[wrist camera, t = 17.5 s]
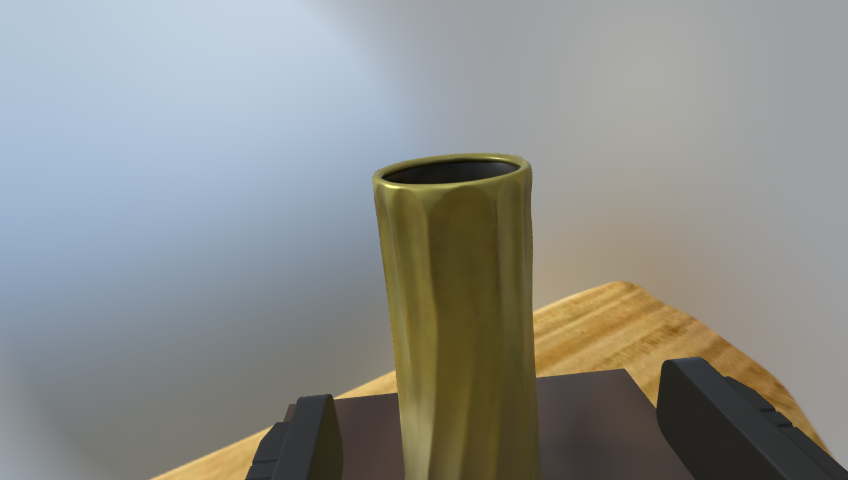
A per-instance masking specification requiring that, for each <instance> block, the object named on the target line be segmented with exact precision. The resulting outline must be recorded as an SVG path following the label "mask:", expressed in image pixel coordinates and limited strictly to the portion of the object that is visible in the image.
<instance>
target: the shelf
mask: <svg viewBox="0 0 848 480" xmlns="http://www.w3.org/2000/svg"><path fill="white" fill-rule="evenodd" d="M536 387H537V403H538V424H539V444H540V466H541V473H542V477H543V480H695V479H694V477H693V476H692V475H691V473H690V472H689V471H688V469H687V468H686V467H685V465H684V464H683V463H682V461H681V460H680V458H679V457H678V456H677V454H676V453H675V452H674V450H673V449H672V448H671V446H670V445H669V444H668V442H667V441H666V439H665V438H664V436H663V434H662V432H661V430H660V428H659V425H658V421H657V415H656V408H655V407H654V406H653V404H652V403H651V402H650V401H649V399H648V398H647V397H646V395H645V394H644V393H643V392H642V390H641V389H640V388H639V386H638V385H637V384H636V383H635V381H634V380H633V379H632V378H631V376H630V375H629V374H628V372H627V371H626V370H625V369H615V370H605V371H596V372H587V373H577V374H568V375H559V376H549V377H540V378H536ZM334 404H335V409H336V414H337V418H338V423H339V428H340V433H341V438H342V443H343V473H342V479H341V480H405V467H404V458H403V445H402V433H401V421H400V410H399V399H398V393H391V394H382V395H372V396H363V397H354V398H344V399H335V400H334ZM295 406H296V404H290V405H289V407H288V410H287V413H286V416H285V418H284V421H283V422H287V421H291V418H292V415H293V412H294V409H295Z"/></svg>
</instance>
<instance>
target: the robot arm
mask: <svg viewBox="0 0 848 480" xmlns="http://www.w3.org/2000/svg"><path fill="white" fill-rule="evenodd" d="M656 415H657V421H658V425H659V428H660V430H661V432H662V434H663V436H664V438H665V439H666V441H667V442H668V444H669V445H670V446H671V448H672V449H673V450H674V452H675V453H676V454H677V456H678V457H679V458H680V460H681V461H682V463H683V464H684V465H685V467H686V468H687V469H688V471H689V472H690V473H691V475H692V476H693V477H694V479H695V480H848V471H846V470H845V469H844V468H843V467H842V466H841V465H839V464H838V463H837V462H836V461H835V460H834V459H833V458H832V457H830V456H829V455H828V454H827V453H826V452H825V451H824V450H822V449H821V448H820V447H819V446H818V445H817V444H816V443H814V442H813V441H812V440H811V439H810V438H809V437H807V436H806V435H805V434H804V433H803V432H802V431H801V430H799V429H798V428H797V427H793V425H792V423H791V422H790V421H789V420H788V419H787V418H786V417H785V416H783V415H782V414H781V413H780V412H776V411H775V408H774V407H773V406H772V405H771V404H770V403H769V402H767V401H766V400H765V399H764V398H763V397H762V396H761V395H759V394H758V393H757V392H756V391H755V390H753V389H751V388H749V387H748V386H746V385H744V384H742V383H740V382H738V381H736V380H735V379H733V378H731V377H729V376H727V377H723V376H722V375H721V374H720V373H719V372H718V371H717V370H716V369H714V368H713V367H712V366H711V365H710V364H709V363H708V362H707V361H706V360H704V359H703V358H701V357H690V358H681V359H671V360H666V361H664V363H663V364H662V368H661V376H660V384H659V392H658V400H657V409H656ZM342 473H343V443H342V438H341V433H340V428H339V423H338V418H337V414H336V409H335V404H334V399H333V397H332V395H331V394H325V395H316V396H306V397H300V398H299V399H298V400H297V403H296V406H295V409H294V412H293V415H292V418H291V421H287V422H277V423H276V424H275V425H274V426H273V427H272V429H271V430H270V431H269V432H268V433H267V434H266V435H265V437H264V438H263V439H262V440H261V441H260V444H259V446H258V449H257V451H256V454H255V456H254V459H253V461H252V466H250V469H249V471H248V474H247V476H246V479H245V480H341V479H342Z"/></svg>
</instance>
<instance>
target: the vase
mask: <svg viewBox="0 0 848 480" xmlns="http://www.w3.org/2000/svg"><path fill="white" fill-rule="evenodd" d="M372 182H373V191H374V201H375V207H376V214H377V221H378V229H379V237H380V244H381V253H382V259H383V267H384V273H385V282H386V290H387V296H388V304H389V312H390V321H391V330H392V338H393V347H394V358H395V368H396V379H397V389H398V399H399V410H400V421H401V433H402V445H403V458H404V467H405V480H543V477H542V473H541V466H540V444H539V424H538V403H537V387H536V372H535V356H534V331H533V311H532V263H533V236H532V220H531V189H532V169H531V165H530V163H529V162H528V161H527V160H525V159H523V158H521V157H519V156H515V155H508V154H499V153H463V154H450V155H440V156H432V157H425V158H419V159H413V160H408V161H403V162H399V163H396V164H392V165H389V166H387V167H384V168H382V169H379V170H378V171H376V172H375V174H374V175H373V177H372Z"/></svg>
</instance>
